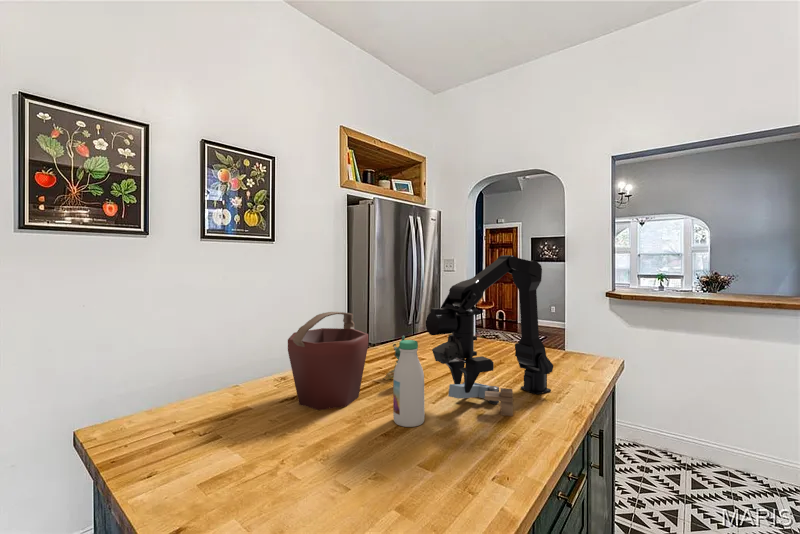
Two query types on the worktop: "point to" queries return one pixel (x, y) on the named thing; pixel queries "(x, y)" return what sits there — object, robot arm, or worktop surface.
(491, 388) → the pintle
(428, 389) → the worktop surface
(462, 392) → the link
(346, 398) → the bucket
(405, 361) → the milk bottle
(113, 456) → the worktop surface
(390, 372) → the frog figurine
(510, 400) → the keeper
